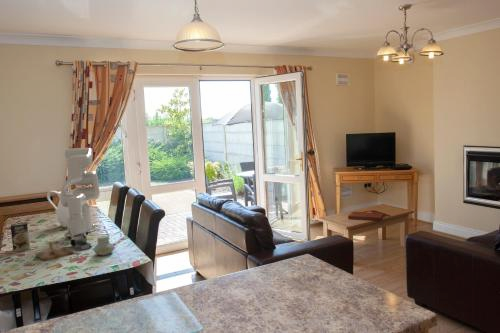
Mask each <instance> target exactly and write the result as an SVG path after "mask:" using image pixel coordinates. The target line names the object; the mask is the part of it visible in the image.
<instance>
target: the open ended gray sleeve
mask: <svg viewBox="0 0 500 333" xmlns="http://www.w3.org/2000/svg"><path fill="white" fill-rule="evenodd" d="M86 238H87V237H86ZM86 238H85V237H83V235H79V236H76V237H75V236H74V238H73V240H74V245H75V246H72V247H73V248H74V249H76V250H78V251H85V250H88V249H91V248H92V245H91V243H90V242H87V241H86Z"/></svg>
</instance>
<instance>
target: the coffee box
mask: <svg viewBox="0 0 500 333" xmlns="http://www.w3.org/2000/svg"><path fill="white" fill-rule="evenodd" d="M10 233H11V242H12V251H13V252H20V251H24V250H25V251H26V250H30V249H31V243H30V234H29V223H28V222H20V223H12V224H10Z"/></svg>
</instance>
